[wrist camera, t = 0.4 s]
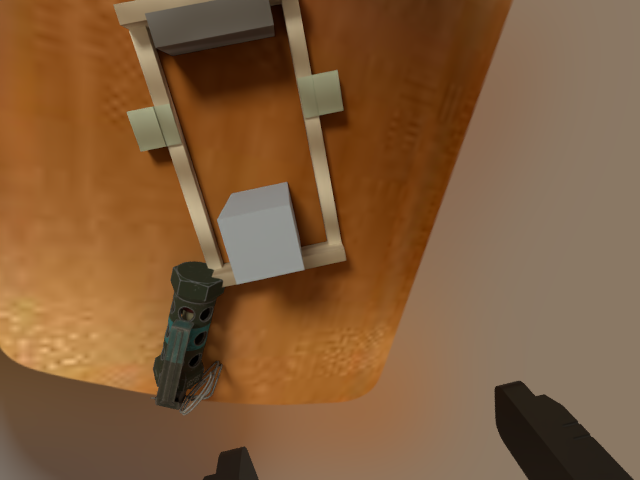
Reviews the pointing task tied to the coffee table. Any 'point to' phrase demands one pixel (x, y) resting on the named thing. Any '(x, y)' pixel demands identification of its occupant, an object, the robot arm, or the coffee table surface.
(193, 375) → the stun grenade
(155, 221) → the coffee table surface
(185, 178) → the beam frame
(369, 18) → the coffee table surface
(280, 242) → the grey rectangular block
